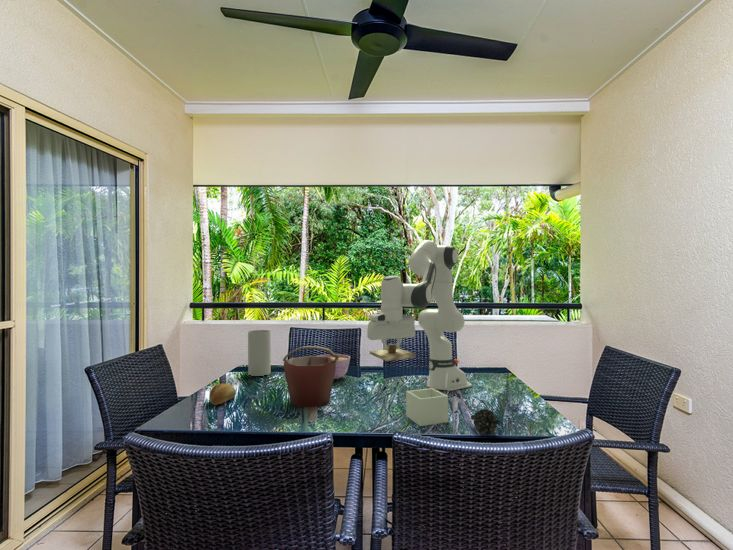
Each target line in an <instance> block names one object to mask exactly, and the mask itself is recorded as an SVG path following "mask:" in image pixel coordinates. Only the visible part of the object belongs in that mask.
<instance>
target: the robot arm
mask: <svg viewBox="0 0 733 550" xmlns="http://www.w3.org/2000/svg"><path fill="white" fill-rule="evenodd" d="M458 259H459V254H458V249H456V247H455V246H453V245H438V244H436V242H435V241H433V240H430V239H424V240H422V241H421V242H420V243H418V245H417V246H415V249H414V250H413V251H412V252H411V254H410V256H409V259H408V266H409V269H410V270H411V271H412V272H413V274H415V275H417V276H420V277H422V280H421V282H419V283H404V282H402V279H401V276H399V275H386V276H384V277H383V278H382V279H381V283H380V301H381V305H380V311H377V312H375V313H372V314H370V315H369V317H368V318H369V321H368V324H367V332H366V337H367V338H368V340H370V341H376V340H378V341H379V340H381V343H382V344H383V350H389V346H388V344H387V341H388V340H393V339H396V340H397V342H396V343H395V344H396V350H398V349H401V348H400V346H401V344H402V342H403V339H410V338H411V339H412V338H415V337H416V327H415V323H416V321H415V320H416V319H415V317H414V316H413V315H411V314H403V307H405V308H406V307H408V308H409V307H413V308H420V309H423V310H421V311H420V312H419V314H418V316H417V322H418V325H419V326H420V327H421V328H422V330H423V331H424V332H425V335H426V337H427V339H428V340H427V341H428V343H429V358H428V359H429V360H428V369H429V372H428V373H429V374H428V380H427V384H426V386H427V388H433V389H435V390H443V391H448V392H450V391H456V390H461V389H465V388H471V387H472V383H471V382H469V381H468V379H467V375H466V373H465V372H464V371H463V370H461V369H460V368H459V367H458V366H457V365H456V364H459V363H460V360H459V359H456V358H453V344H452V342H451V341H450V340H449V339H448V338H447V337H446V336H445V333H444V332H446V333H457V332H460V331H462V330H463V328H464V326H465V321H466V320H465V316H464V315H463V313H462V312H461V311H459V309H458V308H457V306H456V304H455V302H454V297H453V295H454V294H453V293H454V292H453V271H452V270H453V268H454V267H455V266H456V265H457V262H458ZM431 301H434V302H435V303H436V305H437V307H438V308H437V309H436V308H428V309H424V308H426V307H427V306H429V305H430V303H431Z"/></svg>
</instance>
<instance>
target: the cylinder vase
mask: <svg viewBox="0 0 733 550" xmlns="http://www.w3.org/2000/svg"><path fill="white" fill-rule="evenodd" d="M271 356H272V355H271V330H268V329H255V330H249V331H247V370H248V372H247V374H248V376H249V375H251V376H263V377H265V376H264V375H267V376H270V374H272V373H271V367H272V366H271V365H272V364H271V358H272V357H271ZM251 376H250V377H251Z"/></svg>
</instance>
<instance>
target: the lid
mask: <svg viewBox="0 0 733 550" xmlns="http://www.w3.org/2000/svg"><path fill="white" fill-rule="evenodd" d="M396 344H397V343H388V344H387V345H388V346H389V350H384V349H377V350H369V354H370V355H372V356H373V357H375V358H377V359H380V360H382V361H386V362H388V361H399V360H402V361H403V360H408V359H410V358H411V359H412V358H416V356H417V355H416V353H413V352H411V351H407V350H406V349H405V350H404V349H402V348H400V349H398V350H396Z"/></svg>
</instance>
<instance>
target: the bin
mask: <svg viewBox="0 0 733 550" xmlns="http://www.w3.org/2000/svg"><path fill="white" fill-rule="evenodd" d="M405 413H406V414H405V415H406V417H407V418H408V419H410V420H411V421H413V422H414V424H416V425H418V426H419V427H424V426H431V425H438V424H444V423H445V424H446V423H449V395H447V394H445V393H443V392H441V391H439V390H438V389H433V388H430V387H428V388H422V389H413V390H406V391H405Z"/></svg>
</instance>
